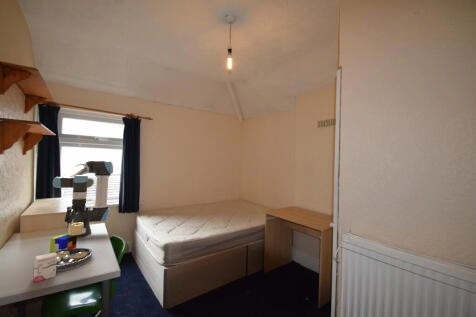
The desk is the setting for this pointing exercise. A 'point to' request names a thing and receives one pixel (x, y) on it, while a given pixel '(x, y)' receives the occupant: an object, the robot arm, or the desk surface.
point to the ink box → (45, 266)
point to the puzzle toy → (63, 242)
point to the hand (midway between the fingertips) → (76, 232)
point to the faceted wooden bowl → (75, 228)
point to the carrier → (72, 258)
